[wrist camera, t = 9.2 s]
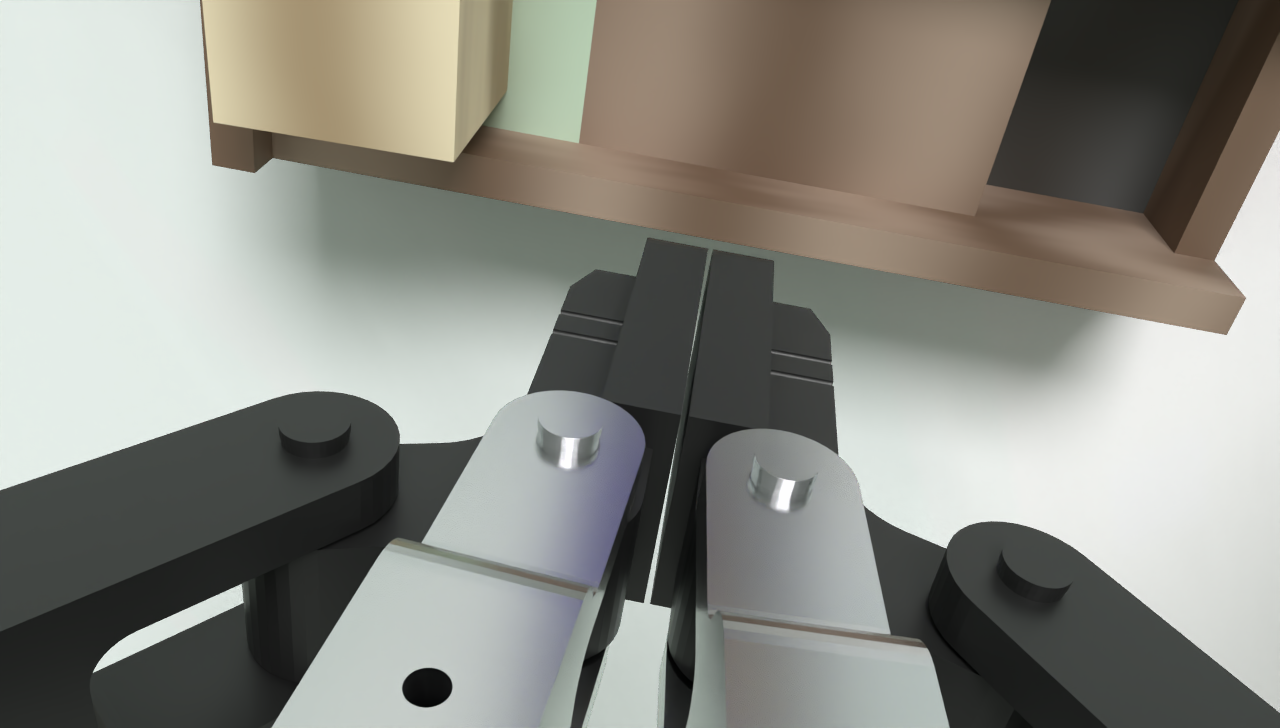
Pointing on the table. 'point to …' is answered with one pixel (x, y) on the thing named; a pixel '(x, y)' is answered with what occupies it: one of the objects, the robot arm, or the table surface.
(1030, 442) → the table surface
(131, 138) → the table surface
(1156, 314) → the brown wooden long box
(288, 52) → the birch block
